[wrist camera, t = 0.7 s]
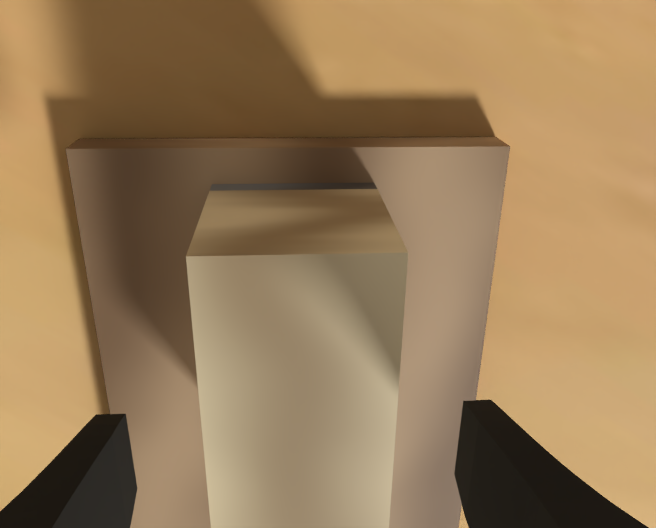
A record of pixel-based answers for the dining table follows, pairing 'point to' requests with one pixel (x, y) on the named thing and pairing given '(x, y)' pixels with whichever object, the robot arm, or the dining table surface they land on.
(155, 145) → the plank
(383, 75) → the dining table surface
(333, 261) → the block
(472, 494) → the robot arm
